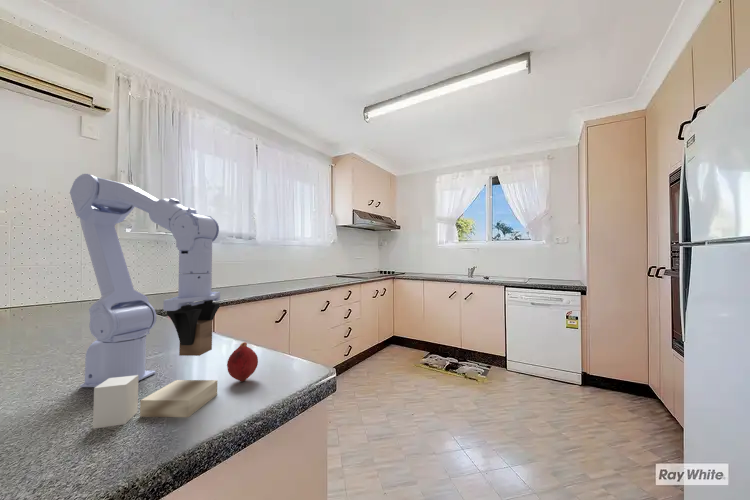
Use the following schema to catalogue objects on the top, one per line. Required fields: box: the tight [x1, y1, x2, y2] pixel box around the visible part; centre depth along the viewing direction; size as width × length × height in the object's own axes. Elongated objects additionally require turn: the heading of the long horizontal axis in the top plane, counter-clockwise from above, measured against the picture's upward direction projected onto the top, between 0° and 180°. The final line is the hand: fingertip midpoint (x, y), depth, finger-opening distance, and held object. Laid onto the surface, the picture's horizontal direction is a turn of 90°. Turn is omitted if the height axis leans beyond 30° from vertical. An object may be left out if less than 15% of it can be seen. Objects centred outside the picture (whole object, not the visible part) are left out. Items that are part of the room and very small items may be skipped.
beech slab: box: [139, 379, 218, 418], centre depth 51 cm, size 8×8×3 cm
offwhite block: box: [92, 375, 139, 429], centre depth 46 cm, size 4×4×6 cm
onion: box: [226, 341, 259, 383], centre depth 61 cm, size 6×6×8 cm
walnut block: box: [178, 320, 213, 357], centre depth 58 cm, size 4×4×6 cm
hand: (194, 341), depth 58 cm, fingers closed on walnut block, 4 cm apart
